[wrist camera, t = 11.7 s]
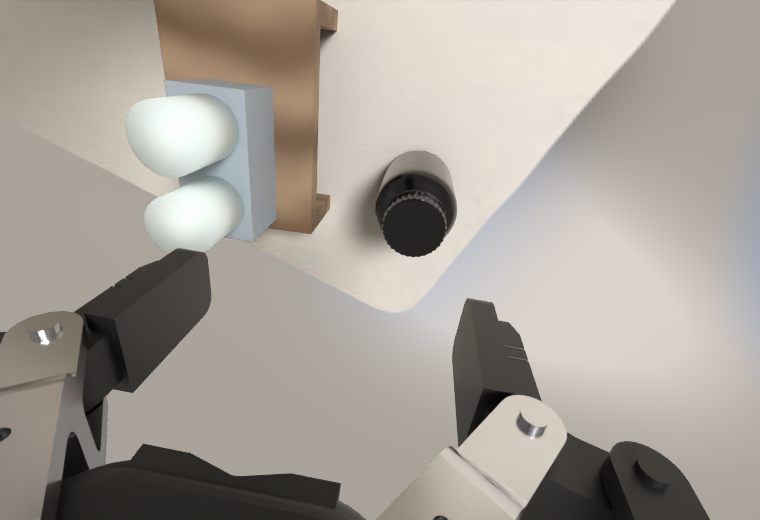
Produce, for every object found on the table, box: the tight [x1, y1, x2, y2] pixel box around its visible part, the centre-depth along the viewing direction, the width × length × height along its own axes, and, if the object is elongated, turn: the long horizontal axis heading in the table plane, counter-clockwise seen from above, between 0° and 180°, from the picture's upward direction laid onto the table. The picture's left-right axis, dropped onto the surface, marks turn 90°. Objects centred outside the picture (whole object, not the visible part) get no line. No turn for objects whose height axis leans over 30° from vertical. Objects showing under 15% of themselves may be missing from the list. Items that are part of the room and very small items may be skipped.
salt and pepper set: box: [126, 78, 276, 254], centre depth 27 cm, size 11×6×10 cm, turn 174°
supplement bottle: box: [375, 151, 457, 257], centre depth 33 cm, size 7×7×12 cm
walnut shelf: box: [154, 0, 338, 234], centre depth 34 cm, size 18×12×7 cm, turn 174°
